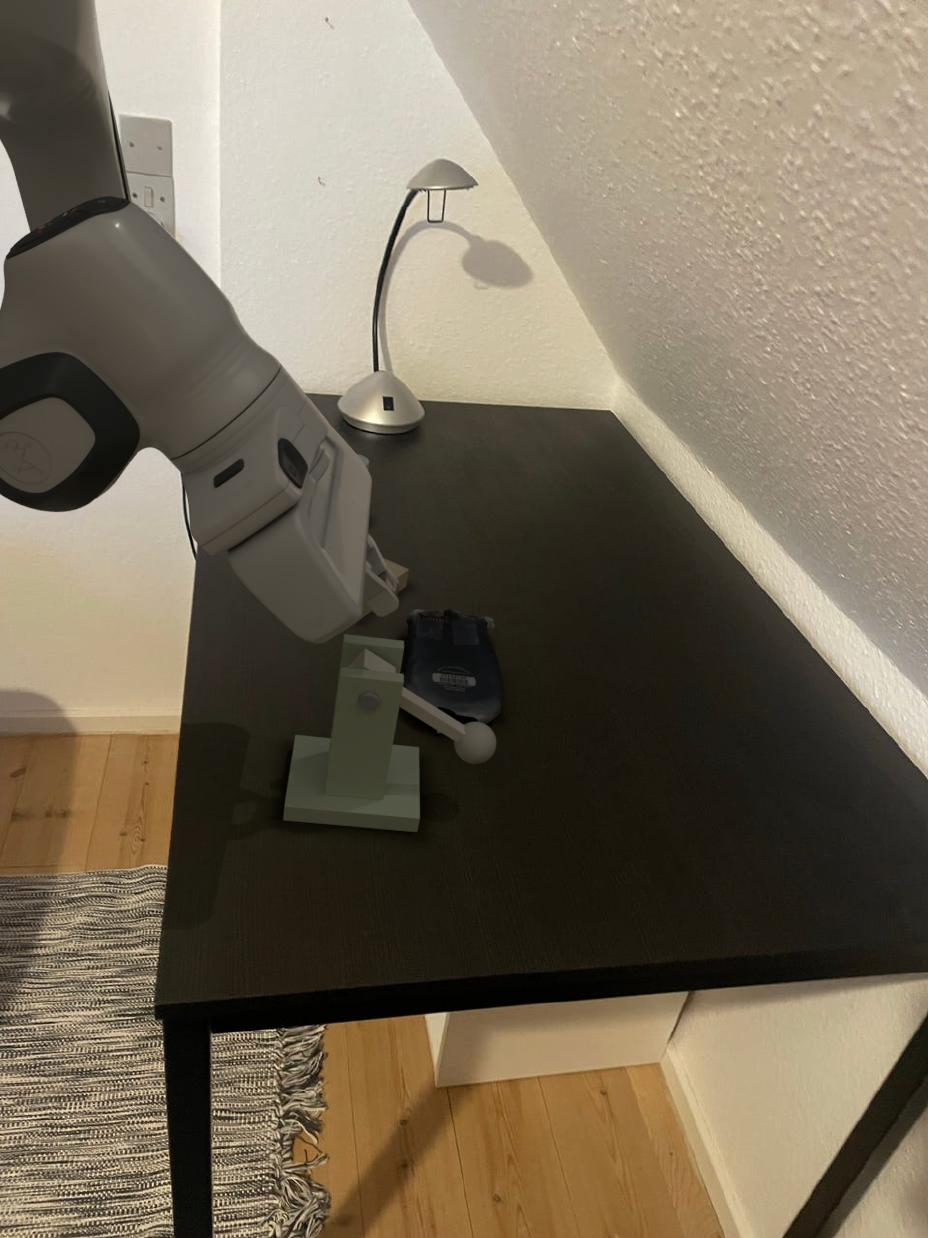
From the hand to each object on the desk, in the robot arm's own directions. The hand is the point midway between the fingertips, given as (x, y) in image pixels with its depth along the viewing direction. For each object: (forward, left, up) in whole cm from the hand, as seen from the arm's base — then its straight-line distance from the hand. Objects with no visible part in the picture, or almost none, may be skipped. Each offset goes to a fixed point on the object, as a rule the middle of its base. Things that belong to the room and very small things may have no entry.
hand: (391, 601), depth 64 cm
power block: (-19, +24, -18) cm, 35 cm away
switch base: (-1, 0, -18) cm, 18 cm away
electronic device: (-2, +16, -18) cm, 24 cm away
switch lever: (+3, +1, -10) cm, 11 cm away
